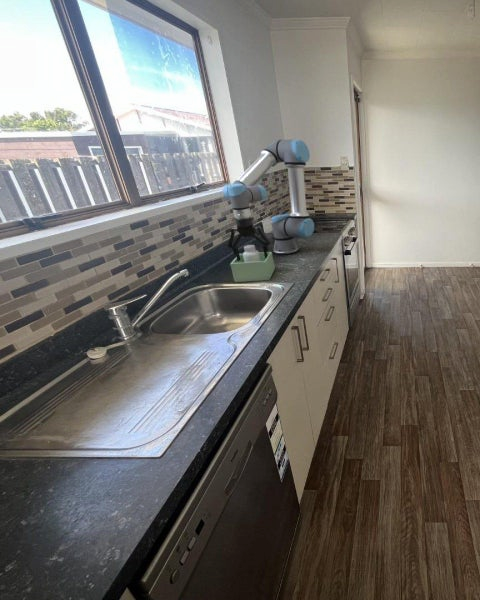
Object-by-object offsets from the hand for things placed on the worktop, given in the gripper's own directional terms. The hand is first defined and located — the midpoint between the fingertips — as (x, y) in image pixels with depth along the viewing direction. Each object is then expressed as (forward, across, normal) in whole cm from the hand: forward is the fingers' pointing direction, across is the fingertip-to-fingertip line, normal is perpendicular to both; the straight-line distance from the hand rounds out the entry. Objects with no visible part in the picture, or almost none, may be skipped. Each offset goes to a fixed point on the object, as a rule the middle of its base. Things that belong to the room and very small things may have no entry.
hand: (252, 259), depth 169 cm
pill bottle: (+8, 0, -1) cm, 8 cm away
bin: (+9, 0, 0) cm, 9 cm away
